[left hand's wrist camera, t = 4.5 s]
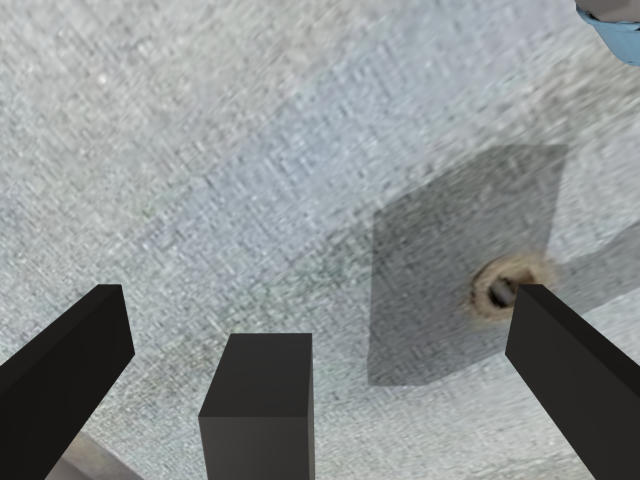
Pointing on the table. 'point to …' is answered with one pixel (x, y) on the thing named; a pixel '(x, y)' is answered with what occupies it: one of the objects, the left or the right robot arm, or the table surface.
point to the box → (261, 409)
